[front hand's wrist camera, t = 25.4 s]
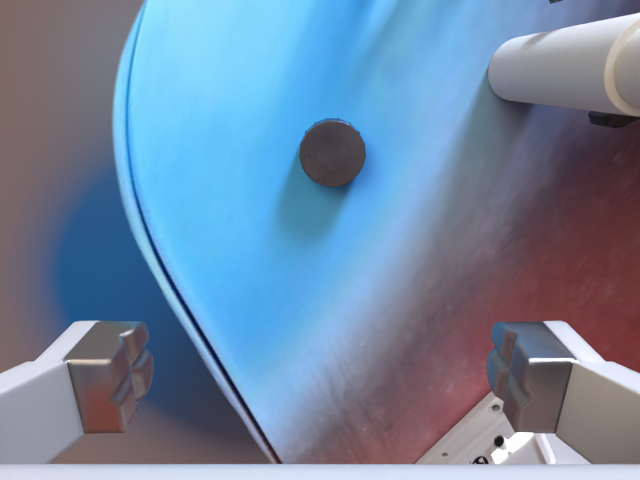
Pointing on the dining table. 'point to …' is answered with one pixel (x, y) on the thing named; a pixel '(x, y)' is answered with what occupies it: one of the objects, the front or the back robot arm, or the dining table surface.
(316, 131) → the lid
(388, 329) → the dining table surface
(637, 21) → the white cylinder
